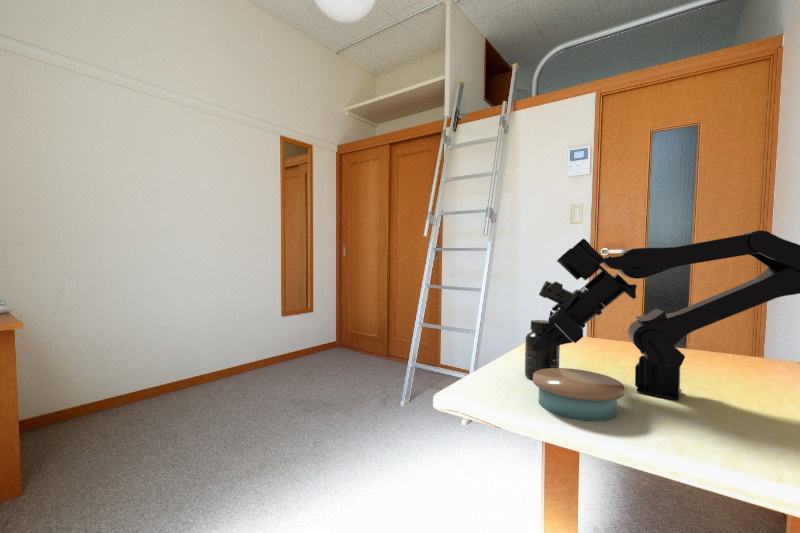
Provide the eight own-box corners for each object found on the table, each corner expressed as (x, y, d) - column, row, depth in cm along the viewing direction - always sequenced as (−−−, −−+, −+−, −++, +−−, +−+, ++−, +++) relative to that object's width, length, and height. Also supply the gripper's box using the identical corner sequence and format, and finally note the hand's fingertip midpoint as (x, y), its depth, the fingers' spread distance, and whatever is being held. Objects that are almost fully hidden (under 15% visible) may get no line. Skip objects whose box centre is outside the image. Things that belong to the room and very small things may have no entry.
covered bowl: (630, 404, 65) (631, 378, 65) (614, 432, 54) (614, 401, 54) (548, 386, 74) (548, 363, 74) (519, 407, 63) (520, 380, 63)
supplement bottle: (562, 384, 76) (563, 324, 75) (526, 381, 77) (528, 323, 77) (555, 374, 82) (556, 319, 82) (522, 371, 84) (523, 318, 83)
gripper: (563, 267, 86) (513, 312, 91) (564, 268, 69) (502, 323, 74) (601, 303, 83) (547, 348, 88) (612, 314, 66) (544, 368, 71)
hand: (535, 345), depth 80 cm, fingers open, 7 cm apart
